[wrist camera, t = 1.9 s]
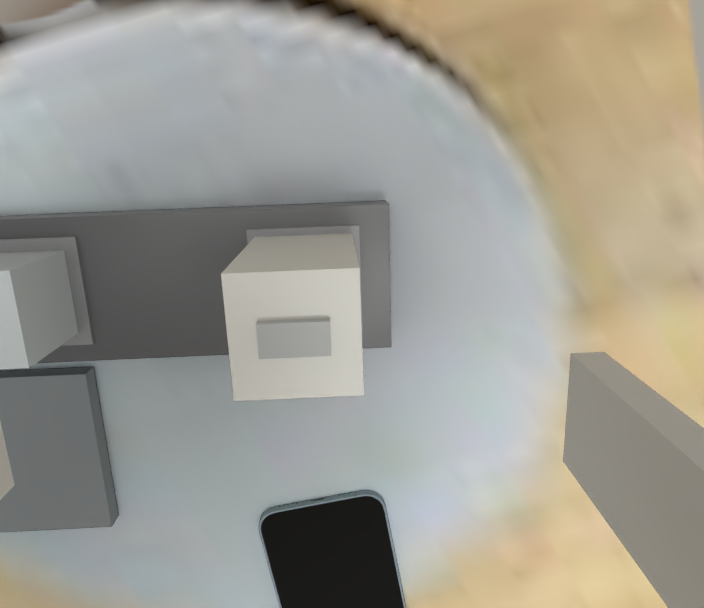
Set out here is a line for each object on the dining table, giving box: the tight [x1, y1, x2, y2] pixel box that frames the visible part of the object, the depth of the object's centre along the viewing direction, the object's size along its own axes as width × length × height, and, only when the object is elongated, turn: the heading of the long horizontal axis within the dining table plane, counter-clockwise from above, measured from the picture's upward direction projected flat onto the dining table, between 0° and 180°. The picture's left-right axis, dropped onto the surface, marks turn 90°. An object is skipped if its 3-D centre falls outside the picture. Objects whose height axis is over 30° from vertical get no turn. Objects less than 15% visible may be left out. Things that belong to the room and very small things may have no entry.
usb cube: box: [0, 250, 78, 370], centre depth 24 cm, size 4×4×4 cm
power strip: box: [0, 201, 391, 363], centre depth 27 cm, size 26×7×2 cm, turn 92°
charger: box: [221, 233, 364, 401], centre depth 22 cm, size 4×4×8 cm
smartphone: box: [259, 490, 406, 608], centre depth 34 cm, size 7×1×15 cm
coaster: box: [0, 367, 118, 532], centre depth 30 cm, size 9×9×1 cm
